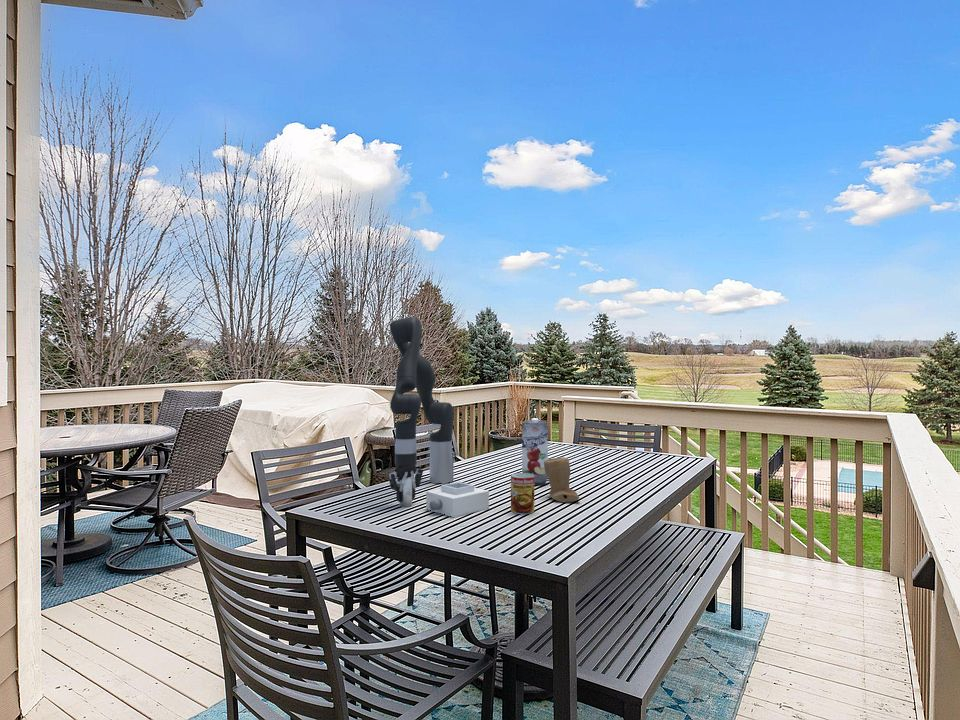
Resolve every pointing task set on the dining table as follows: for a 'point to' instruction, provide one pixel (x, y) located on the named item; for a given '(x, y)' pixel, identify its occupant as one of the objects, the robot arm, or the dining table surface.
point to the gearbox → (457, 499)
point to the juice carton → (535, 449)
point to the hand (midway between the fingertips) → (405, 500)
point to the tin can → (407, 493)
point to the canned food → (522, 493)
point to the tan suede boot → (559, 479)
